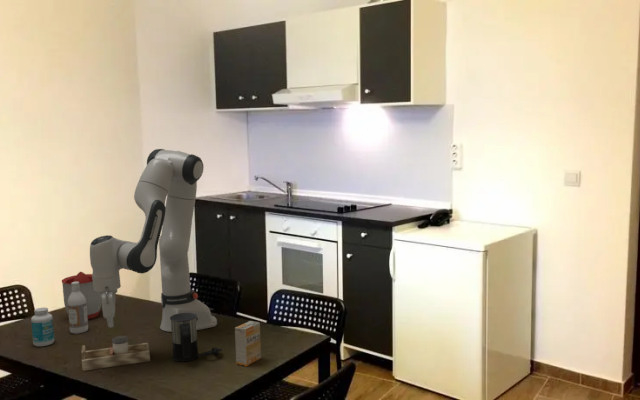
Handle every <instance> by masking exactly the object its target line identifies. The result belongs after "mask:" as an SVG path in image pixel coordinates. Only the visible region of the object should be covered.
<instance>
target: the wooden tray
mask: <svg viewBox="0 0 640 400" xmlns="http://www.w3.org/2000/svg"><path fill="white" fill-rule="evenodd" d="M86 349H87V348H86V345H81V353H80V354H81V368H82V372H84V371H91V370H99V369H104V368H111V367H119V366H125V365H133V364H138V363H147V362H151V355H150V347H149V342H143V343H135V344H128V353H127V354H120V355H113V356H110V347H106V348H98V349H93V350H92V349H91V350H86Z"/></svg>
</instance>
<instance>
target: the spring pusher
mask: <svg viewBox="0 0 640 400" xmlns="http://www.w3.org/2000/svg"><path fill="white" fill-rule="evenodd" d="M109 348H110V356H113V346H110V347H109Z"/></svg>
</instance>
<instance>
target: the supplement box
mask: <svg viewBox="0 0 640 400" xmlns="http://www.w3.org/2000/svg"><path fill="white" fill-rule="evenodd" d="M234 337H235V340H234V341H235V361H236V363H235V364H236V365H238V364H239V366H242V365H244V366H243V367H248V366H250V365H251V364H253V363H255V362H257V361H259V360H261V359H262V349H261V323H260V322H259V321H253V320H248V321H247V322H244V323H242V324H240V325H237V326H236V327H234Z"/></svg>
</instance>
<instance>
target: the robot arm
mask: <svg viewBox="0 0 640 400" xmlns="http://www.w3.org/2000/svg"><path fill="white" fill-rule="evenodd" d="M203 173H204V163H203V161H202V158H201V157H199V156H198V155H195V154H193V153H191V154H189V153H187V152H183V151H180V150H167V149H165V148H157V149H154V150H152V151H151V152H150V153H149V155H148V157H147V159H146V166H145V168H144V170H143V172H142V174H141V176H140V177H139V180H138V182H137V185H136V187H135V190H134V195H133V199H134V202H135V204H136V205H137V207H138V208H139V209H140V210H141V211H143V213H144V216H145V221H144V224H143V227H142V232H141V236H140V239H139V240H138V241H137V242H133V241H127V240H123V239H119V238H116V237H114V236H113V235H101V236H98V237H95V238H94V239H93V240H91V242H90V245H89V259H90V260H89V262H90V266H91V269H92V273H91V274H92V280H93V288H94V291H96V292H98V295H100V296H101V309H102V316H103V318H104V319H106V323H107V327H108V328H114V317H115V315H116V295H117V293H118V289H120V288H121V276H120V270H122V269H124V270H128V271H132V272H135V273H137V274H146V273H148V272H149V271H152V269H153V268H154V266H155V264H156V262H157V258H158V250H159V262H160V276H161V277H160V278H161V279H160V280H161V295H160V303H161V306H162V315H161V322H160V326H159V328H160V330H162V331H165V332H168V333H169V332H171V333H172V330H171V319H170V317H171V316H173V315H175V314H179V313H194V314H196V315H197V317H196V329H197V331H199V330H204V329H208V328H213V327H216V326H217V325H218V319H217V318H216V317H215V316H214V315H212V313H211V310H210V308H209V307H208V306H207V305H206V304H205V303H203V302H202V301H201V300H199V299H198V298H199V295H198V293H197V292H196V291H195V290H192V289H191V279H190V278H191V277H190V267H189V265H190V264H189V256H188V255H189V253H188V252H189V248H190V242H191V234H192V233H191V232H192V225H193V216H194V210H195V205H196V199H197V198H196V197H197V188H198V184H197V183H198V181H199V180H200V178H202V176H203ZM158 248H159V249H158Z"/></svg>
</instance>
